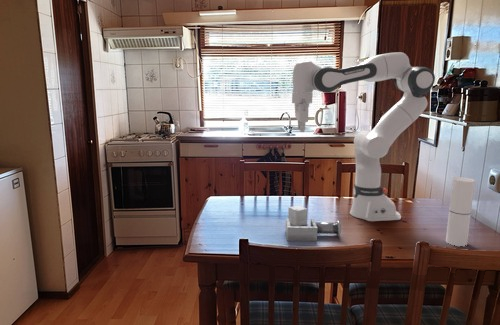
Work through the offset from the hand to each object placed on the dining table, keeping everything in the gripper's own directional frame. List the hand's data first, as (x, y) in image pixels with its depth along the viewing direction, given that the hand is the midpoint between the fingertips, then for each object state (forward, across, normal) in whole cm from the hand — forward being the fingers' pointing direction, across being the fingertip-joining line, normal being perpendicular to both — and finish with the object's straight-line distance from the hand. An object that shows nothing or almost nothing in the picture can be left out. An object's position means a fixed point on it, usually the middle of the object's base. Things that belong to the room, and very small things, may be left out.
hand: (301, 130), depth 163 cm
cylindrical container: (+40, -29, -58) cm, 76 cm away
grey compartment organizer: (+39, -25, -3) cm, 47 cm away
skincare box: (+40, -12, +2) cm, 41 cm away
